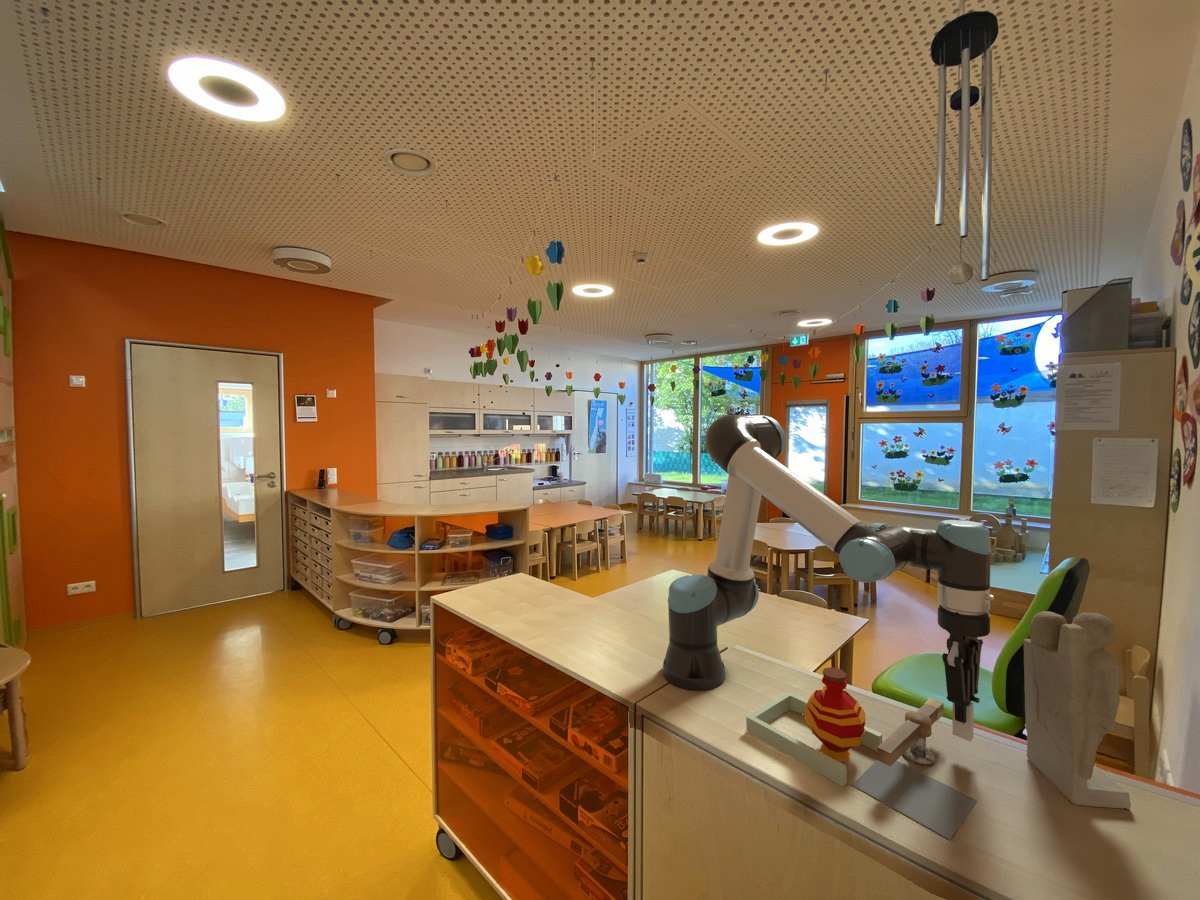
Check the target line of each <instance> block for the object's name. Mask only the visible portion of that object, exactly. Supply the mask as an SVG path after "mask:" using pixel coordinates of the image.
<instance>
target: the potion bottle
mask: <svg viewBox="0 0 1200 900" xmlns="http://www.w3.org/2000/svg"><path fill="white" fill-rule="evenodd" d="M847 674H848V673H846V672H845V671H844V670H843V669H840V668H835V667H823V670H822V675H823V677H822V678H821V682H822V684H823V685H824V686H823V687H822V689H815V690H814V691H813V692H812V694H811V695H810V696H809V698H808V699H807V700H808V702H807V704H806V708H805V713H804V720H805V722H806V723H807V726H808V728H809V730H810V731H811V733H812V735H814V736H815V738H817V739H818V741H820V742H821V745H820V749H819V752H821V753H823V754H825V755H827V756H829V757H831V758H832V759H834V760H836V761H838V762H843V761H844V762H846V761H850V758H851V754H852V753H851V751H850V750H851V749H854V748H855V747H860V746H861V745H862V744H861V741H862V738H863V736H864V733H865V728H864V726H866V712H865V710H864V709H863V707H861V705H860V704H861V703H859V702H858V700H857V699H856V698H854V697H853V696H852V695H851V694H850V693H849V692H848V691H846V690H845V689H846V688H847V686H848V681H847V679H846V677H847ZM861 735H862V736H861Z"/></svg>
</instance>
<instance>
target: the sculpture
mask: <svg viewBox="0 0 1200 900" xmlns="http://www.w3.org/2000/svg"><path fill="white" fill-rule="evenodd" d="M1114 624H1115V623H1114V622H1113V620H1111V619H1110V618H1109V617H1108V616H1106V615H1104V614H1101V613H1098V612H1085V611H1084V612H1081V613H1078V614H1077V615H1075V616H1074V617H1073V619H1072V623H1068V622H1067V619H1066V618H1065V617H1064V616H1063V615H1061V614H1058V613H1056V612H1053V611H1050V610H1048V611H1040V612H1037V613H1035V614H1034V615H1033V617H1032V619H1031V622H1030V627H1029V638H1024V639H1023V670H1024V674H1023V675H1024V681H1023V682H1024V715H1025V730H1026V758H1027V759H1028V761H1030V762H1031V764H1032V765H1033V766H1034V767H1036V768H1037V769H1038V770H1039V771H1040V772H1041V773H1042V775H1044V776H1045V778H1047V779H1048V780H1049V781H1050V782H1051V783H1052V784H1053V786H1055V787H1056V789H1058V791H1059V792H1061V793H1062V794H1063V795H1064V796H1065V797H1066V798H1067V800H1069V801H1070V802H1071V804H1074V805H1076V806H1084V807H1097V808H1110V809H1111V808H1112V809H1124V808H1126V809H1127V810H1128V809H1131V799H1130V793H1129V792H1128V791H1127V790H1126V789H1125V788H1124V787H1122V786H1121V785H1120V784H1119V783H1118V782H1116V781H1115V780H1114V779H1113V778H1111V776H1109V775H1108V774H1107V773H1106V772H1104V771H1103V770H1102V769H1101V768H1100V767H1098V766H1097V765H1096V764H1095V763H1096V757H1097V750H1098V749H1099V748H1098V747H1099V745H1100V744H1101V743H1102V742H1103V739H1104V736H1106V735H1107V734H1108V732H1109V731H1115V728H1116V725H1117V723H1116V717H1117V714H1118V709H1119V706H1120V701H1121V697H1120V689H1121V685H1120V684H1121V681H1120V680H1121V679H1120V678H1121V677H1120V673H1121V671H1120V662H1119V661H1118V659H1117V658H1116V657H1115V656H1113V655H1112V654H1111V653H1109V651H1107V650H1106V649H1105V648H1106V647H1108V646H1110V645H1112V644H1114V643H1115V639H1116V636H1115V632H1114V631H1115V628H1114V626H1115V625H1114ZM1094 765H1095V766H1094ZM1096 766H1097V767H1096Z"/></svg>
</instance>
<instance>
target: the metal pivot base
mask: <svg viewBox="0 0 1200 900" xmlns="http://www.w3.org/2000/svg"><path fill="white" fill-rule="evenodd" d="M902 755H903V756H904V757H905V758H906V759H907V760H908V761H910V762H912V763H914V764H917V765H919V766H927V767H928V766H933V765H934V764H935V762H936V757H935V755H934V753H933V752H932V751H931V750H929V749H927V737H919V738H918V739H917V740H916V741H915V742H914V743H913V744H912V745H911V746H910V747H909V748H908V749H907V750H906V751H905V752H904V753H903V754H902Z"/></svg>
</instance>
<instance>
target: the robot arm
mask: <svg viewBox="0 0 1200 900" xmlns="http://www.w3.org/2000/svg"><path fill="white" fill-rule="evenodd" d="M704 440H705V441H704V442H705V444H704V445H705V447H706V452H707V453H708V455H709V458H711V460H713V462H714V463H715V464H716V465H717V466H718V467H719V468H720V469H721V470H723V471H724V472H726V473H727V474H728V478H727V484H726V489H725V498H724V503H723V510H722V516H721V523H720V528H719V533H718V534H719V535H718V543H717V547H716V553H715V554H716V555H715V559H713V560H712V561H710V562H709V563H708V568H707V574H706V575H703V574H691V575H684V576H683V575H682V576H680V577H677V578H676V579H674V580H673V581H672V582H671V583H670V585H669V586H668V587H669V588H668V597H667V605H668V631H669V633H668V635H669V640H668V641H669V642H668V646H667V648H666V653H665V658H664V659H663V663H662V675H663V677H664V679H665V680H666V681H668V683H670V684H671V685H674V686H676V687H678V688H680V689H681V688H682V689H686V690H693V691H705V690H711V689H714V688H717V687H718V686H720V685H722V684H723V683H724V682H725V679H726V666H725V663H724V661H722V660H723V659H722V656H721V651H720V649H719V645H718V627H719V626H721V625H724V624H726V623H728V622H731V621H733V620H735V619H739V618H742V617H743V616H745V615H747V614H748V613H749V612H751V611H752V610H754V608H755V607H756V605H757V604H758V601H759V597H760V591H759V585H758V584H757V583H756V582H757V581H756V578H755V572H754V571H753V569H752V568H751V567H750V564H751V558H752V551H753V547H754V540H755V533H756V528H757V523H758V518H759V511H760V505H761V499H762V496H763V497H764V498H765V499H767V500H768V501H769V502H770V503H772V505H774V506H776V507H777V509H779V510H781V511H782V512H783V513H784V514H786V515H787V516H788V517H789V518H790V519H792V520H793V521H794V522H795V523H797V524H798V525H799V526H801V528H803V529H805V530H806V531H807V532H808V533H809V534H811V535H812V536H813V537H814V538H816V539H817V540H818V541H819V542H821V543H822V544H823V545H824V546H826V547H827V548H828V549H829V550H830V551H832V552H834V553H835V554H836V555H837V556H838V557H839V559H838V560H839V564H840V565H841V568H842V569H843V572H844V573H845V574H846V575H847V576H848V577H849V578H851V579H852V580H854V581H856V582H858V583H864V584H867V583H874V582H877V581H882V580H885V579H887V578H888V577H890V576H891V575H893V574H894V573H897V572H899V571H901V570H902V569H905V568H906V567H912V568H917V569H923V570H927V571H928V570H929V571H936V572H937V594H936V595H937V597H936V598H937V602H938V604H939V605H937V624H938V626H939V627H940V628H941V629H943V630H945V631H946V632H948V634H949V636H948V638H947V640H946V649H947V651H948V652H943V653H942V657H941V658H942V662H943V665H944V673H945V684H946V694H947V696H946V699H947V701H948V702H951V703H952V736H955V737H958V738H960V739H963V740H964V741H968V742H972V741H973V739H974V703H976V704H979V703H980V698H979V697H977V696H976V695H978V693H979V682H980V681H979V680H980V679H979V678H980V667H981V666H980V665H981V654H982V647H983V644H984V641H983V639H982V638H984V637H987V636H988V635H989V634H990V633H991V615H990V613H989V612H988V611H990V610H991V602H992V601H995V596H994V595H992V594H990V593H991V564H992V563H991V557H992V549H991V537H990V530H989V527H987V526H986V525H984V524H983V523H980V522H976V521H971V520H965V519H964V520H963V519H962V520H958V519H944V520H941V521H939V522H938V524H937V527H936V528H935V529H932V528H931V529H930V528H929V529H928V528H923V527H922V528H920V527H914V526H906V525H898V524H893V523H882V522H881V523H878V522H877V523H876V522H875V523H871V524H870V525H869V526H868V525H867V524H865V523H864V522H862V521H861V520H860V519H858V518H857V517H855V516H854V515H852V513H850V512H849V511H847V510H846V509H844V508H843V507H842V506H840V505H839V504H838V503H836V502H835V501H833V500H832V499H831V498H829V497H828V496H826V495H825V494H824V493H822V492H821V491H820V490H818V489H817V488H816V487H814V486H813V485H811V484H810V483H808V482H807V481H806V480H804V479H803V478H801V477H800V476H799V475H797V474H796V473H794V472H793V471H792V470H791V469H789V468H788V467H787V466H785V465H784V464H782V463H781V462H780V461H778V460H777V459H778V458H779V457H780V456H781V455H782V454H783V452H784V450H785V448H786V443H787V439H786V434H785V431H784V429H783V427H782V425H781V424H780V422H779V421H777V419H774V418H773V417H771V416H768V415H762V414H756V413H755V414H754V413H751V414H750V413H749V414H726V415H723V416H721V417H718V418H717V419H715V420H714V421H713V422H712V423H711V424H710V426H709V427H708V428H707V430H706V434H705V439H704Z"/></svg>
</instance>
